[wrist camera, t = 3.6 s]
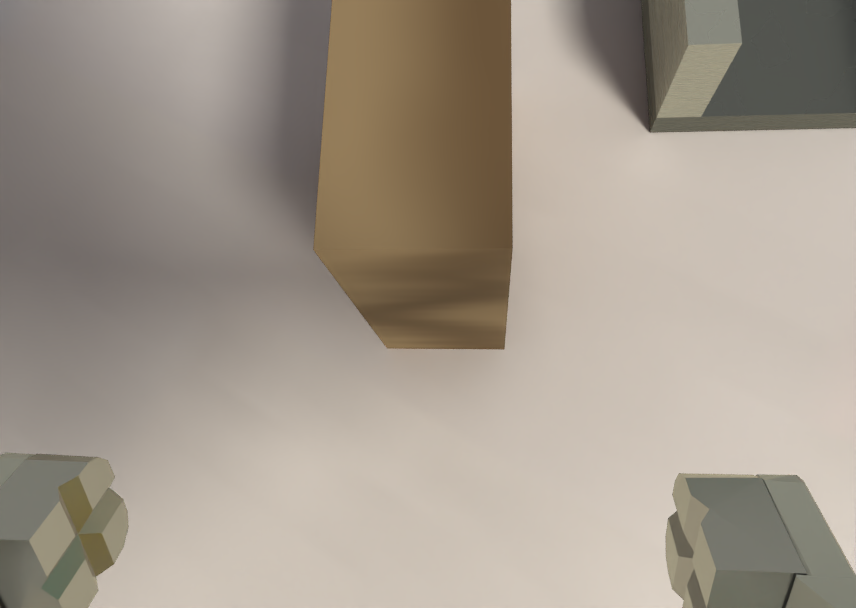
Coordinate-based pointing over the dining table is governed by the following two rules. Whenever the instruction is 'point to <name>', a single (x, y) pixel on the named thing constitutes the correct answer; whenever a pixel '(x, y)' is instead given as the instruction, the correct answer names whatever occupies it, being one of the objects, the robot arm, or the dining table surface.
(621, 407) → the dining table surface
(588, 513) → the dining table surface
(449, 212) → the brown rectangular block
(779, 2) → the track
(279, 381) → the dining table surface
